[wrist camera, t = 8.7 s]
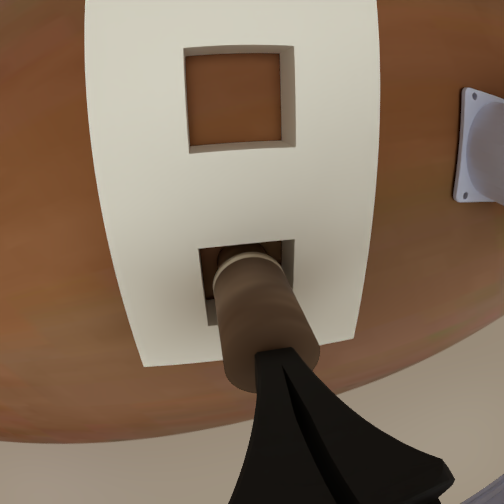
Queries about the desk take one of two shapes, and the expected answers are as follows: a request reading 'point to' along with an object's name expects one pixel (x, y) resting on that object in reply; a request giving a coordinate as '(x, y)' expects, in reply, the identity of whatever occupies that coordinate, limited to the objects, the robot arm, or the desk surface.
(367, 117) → the board
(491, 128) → the robot arm
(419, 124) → the desk surface
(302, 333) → the peg
